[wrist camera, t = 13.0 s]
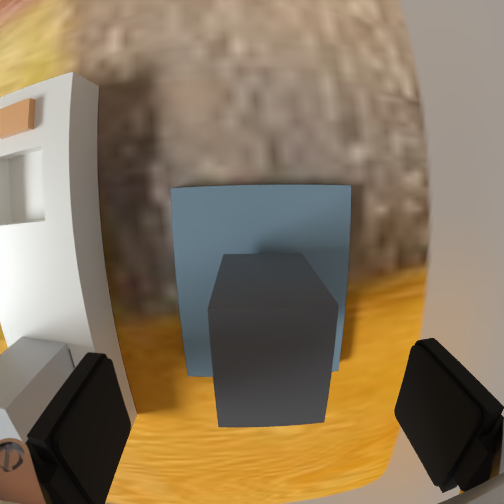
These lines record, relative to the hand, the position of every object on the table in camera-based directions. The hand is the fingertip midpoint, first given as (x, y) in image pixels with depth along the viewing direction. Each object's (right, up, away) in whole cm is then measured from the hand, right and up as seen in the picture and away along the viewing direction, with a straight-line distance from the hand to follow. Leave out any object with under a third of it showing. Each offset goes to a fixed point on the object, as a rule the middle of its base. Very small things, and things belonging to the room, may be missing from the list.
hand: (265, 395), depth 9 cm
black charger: (0, +2, +9) cm, 10 cm away
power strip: (-14, +3, +10) cm, 17 cm away
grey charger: (-14, -3, +9) cm, 17 cm away
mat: (0, +2, +10) cm, 11 cm away
